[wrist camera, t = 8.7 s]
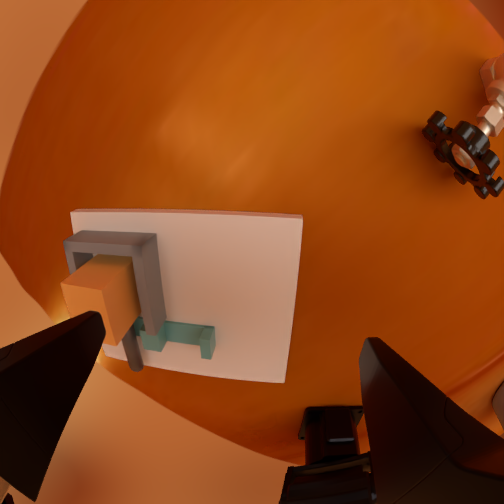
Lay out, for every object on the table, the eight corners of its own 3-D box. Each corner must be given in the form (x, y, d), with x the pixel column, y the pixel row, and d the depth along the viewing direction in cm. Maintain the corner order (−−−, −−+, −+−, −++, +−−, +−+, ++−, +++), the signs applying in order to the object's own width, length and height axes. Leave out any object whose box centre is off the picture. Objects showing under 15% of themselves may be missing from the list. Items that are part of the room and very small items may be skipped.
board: (284, 375, 25) (284, 383, 24) (109, 349, 26) (105, 355, 25) (302, 214, 19) (303, 218, 18) (77, 209, 21) (70, 212, 20)
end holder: (166, 317, 22) (155, 336, 20) (97, 306, 23) (83, 321, 21) (156, 233, 20) (141, 245, 17) (81, 230, 20) (62, 241, 18)
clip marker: (215, 345, 23) (211, 359, 21) (159, 337, 23) (152, 350, 22) (214, 326, 22) (209, 340, 21) (156, 318, 23) (148, 331, 21)
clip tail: (159, 337, 23) (152, 350, 22) (112, 328, 24) (103, 340, 22) (156, 318, 23) (148, 331, 21) (107, 310, 23) (97, 321, 21)
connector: (159, 364, 25) (138, 407, 20) (126, 357, 25) (102, 396, 20) (139, 254, 20) (101, 290, 15) (101, 251, 21) (60, 283, 16)
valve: (479, 37, 12) (406, 121, 16) (527, 21, 6) (457, 119, 10) (522, 100, 13) (458, 189, 17) (572, 102, 7) (512, 213, 11)
